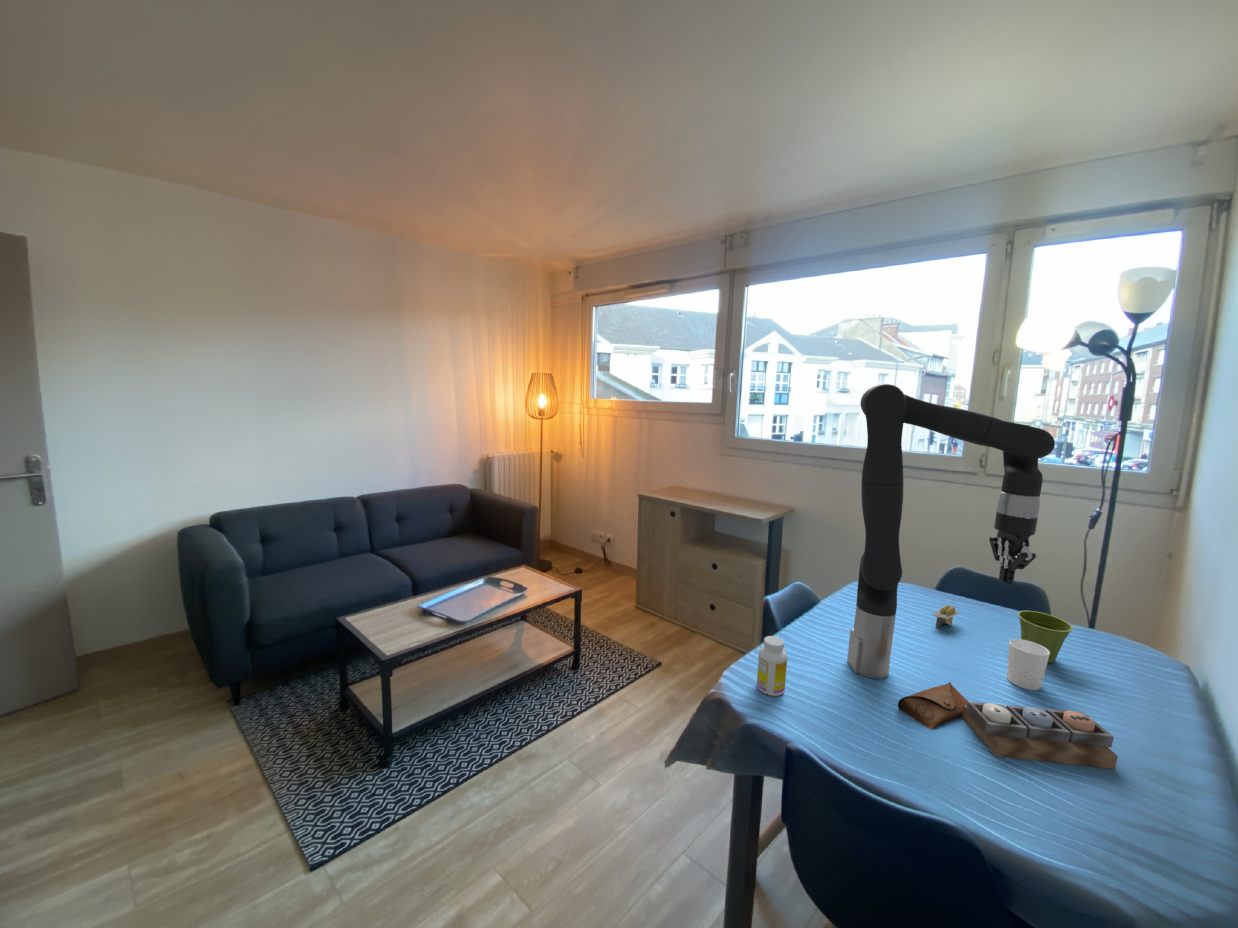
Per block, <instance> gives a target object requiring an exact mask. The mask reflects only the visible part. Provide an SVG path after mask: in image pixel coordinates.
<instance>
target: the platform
mask: <svg viewBox="0 0 1238 928" xmlns="http://www.w3.org/2000/svg"><path fill="white" fill-rule="evenodd" d="M957 615H959V610H957V609H956V606H953V605H951V604H948V605H947V604H946V605H945V606H943V607H941V608H940V609H938V610H937V611H934V612H933V613H932V616H934V617H936V623H935V628H939V627H940V626H944V625H945V624H946V625H949V626H952V625H953V619H954V617H955V616H957Z"/></svg>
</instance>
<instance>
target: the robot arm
mask: <svg viewBox="0 0 1238 928" xmlns="http://www.w3.org/2000/svg"><path fill="white" fill-rule="evenodd" d="M860 408H861V411H862V413H863V414H864V416H865V420H866V421H865V422H866V429H867V430H866V431H867V432H866V433H867V443H866V444H867V446H866V451H865V455H864V459H863V464H862V469H861V470H862V471H861V472H862V473H861V493H860V496H861V507H862V508H861V509H862V517H863V522H864V530H865V542H864V552H863V554H862V555H861V557H860V562H859V569H858V571H859V572H858V581H857V591H856V605H855V615H854V622H853V628H851V629H850V631H849V640H848V648H847V649H848V650H847V658H846V661H847V663H848V664H850V665H849V666H850V668H851V667H852V668H851V670H852V671H853V673H854V674H857V673H858V674H857V675H861V676H864V677H868V678H870V679H884V678H886V677H888V676H889V671H890V665H891V664H890V663H891V654H892V648H893V647H892V646H893V639H894V632H895V623H896V622H895V621H896V615H897V609H898V608H897V606H898V586H899V583H900V582H901V579H902V577H903V567H902V562H901V561H902V560H901V553H900V551H901V549H900V529H901V521H902V515H903V514H902V513H903V503H904V502H903V501H904V460H903V458H904V457H903V445H902V440H903V439H902V438H903V429H904V424H906V425H907V424H908V425H910V426H916V427H920V428H923V429H926V430H928V431H932V432H935V433H938V434H941V435H944V436H948V437H950V438H953V439H956V440H959V441H963V442H966V443H971V444H974V445H976V446H983V447H989V448H992V449H996V450H999V451H1002V454H1003V455H1002V457H1003V459H1002V460H1003V470H1004V471H1003V472H1004V474H1003V476H1002V477H1003V478H1002V483H1001V490H1000V494H999V497H998V501H997V506H996V512H995V513H996V514H995V518H994V527H993V528H994V529H995V530H996V531H997V533H996V536H990V537H989V538H988V540H989V543H990V546H991V550H992V554H993V557H994V560H995V561H998V563H999V575H998V581H1000V582H1002V583H1003V584H1008V585H1009V584H1013V583H1014V579H1015V575H1016V573H1015V572H1016V570H1024V569H1025V568H1026V567H1028V566H1029V565H1030V563H1032V562H1033V560H1035V559H1036V557H1037V554H1036V553H1035V552H1031V551H1030V549H1029V547H1030V539H1029V538H1030V537H1031V536H1034V535H1036V530H1037V525H1038V519H1039V511H1040V506H1041V505H1040V504H1041V501H1040V499H1041V492H1042V486H1043V477H1044V476H1043V473H1042V471H1041V470H1040V469H1039V459H1043V458H1045V457H1047V456H1049V455H1050V454H1051V453H1052V452H1053V450H1055V449H1054V448H1055V445H1056V443H1055V442H1056V440H1055V438H1054V437H1053V435H1052V434H1051V433H1049V431H1047V430H1045V429H1043V428H1039V427H1036V426H1032V425H1026V424H1021V423H1018V422H1017V423H1016V422H1012V421H1007V420H1003V419H1000V418H998V417H994V416H991V415H987V414H984V413H980V412H976V411H973V410H969V409H963V408H957V407H953V406H948V405H941V404H936V403H934V402H933V403H932V402H929V401H924V400H921V399H919V398H918V399H917V398H915V397H912V396H910V395H908V394H906V393H904V391H902V389H901V388H900V387H898V386H896V385H894V384H889V383H888V384H887V383H884V384H883V383H882V384H877V385H874V386H872V387H870V388H868V389H867V390H866V391H865V392H864V393H863V395H862V396H861V399H860Z"/></svg>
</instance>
